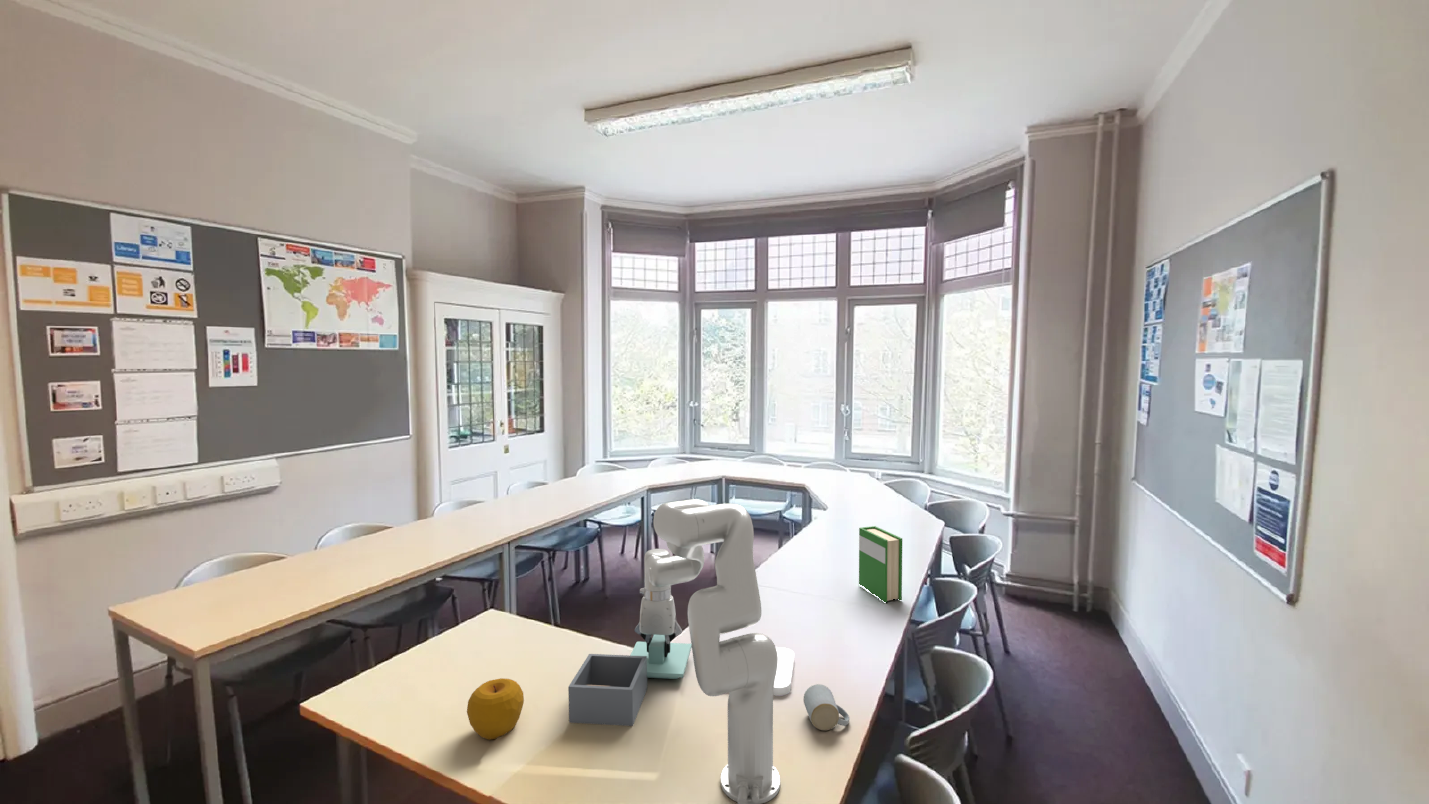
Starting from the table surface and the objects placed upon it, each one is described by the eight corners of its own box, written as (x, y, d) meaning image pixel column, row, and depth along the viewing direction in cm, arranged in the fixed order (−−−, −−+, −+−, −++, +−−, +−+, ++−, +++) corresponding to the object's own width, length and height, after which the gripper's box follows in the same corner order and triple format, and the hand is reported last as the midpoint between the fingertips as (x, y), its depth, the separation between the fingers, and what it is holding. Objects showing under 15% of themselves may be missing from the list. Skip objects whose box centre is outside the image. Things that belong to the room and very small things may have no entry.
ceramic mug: (810, 734, 133) (811, 702, 132) (802, 712, 141) (803, 683, 141) (854, 732, 134) (854, 701, 133) (843, 711, 142) (844, 682, 141)
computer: (789, 698, 148) (789, 688, 148) (709, 689, 153) (709, 680, 152) (794, 657, 169) (794, 648, 169) (724, 650, 174) (724, 641, 174)
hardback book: (901, 601, 209) (902, 538, 208) (884, 603, 207) (885, 540, 206) (874, 584, 226) (875, 526, 225) (858, 586, 224) (859, 527, 223)
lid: (683, 682, 152) (682, 656, 152) (622, 679, 154) (622, 653, 153) (691, 651, 169) (691, 627, 169) (637, 649, 171) (636, 625, 170)
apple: (457, 735, 133) (455, 689, 133) (503, 708, 144) (502, 665, 143) (489, 755, 126) (488, 707, 125) (536, 725, 137) (535, 680, 136)
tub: (633, 729, 135) (632, 689, 134) (569, 726, 136) (568, 686, 136) (647, 692, 151) (646, 656, 150) (590, 689, 152) (589, 653, 152)
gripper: (626, 597, 157) (627, 660, 158) (684, 599, 156) (685, 662, 157) (632, 587, 165) (633, 647, 166) (688, 588, 163) (688, 649, 164)
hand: (658, 654), depth 161 cm, fingers closed on lid, 4 cm apart
